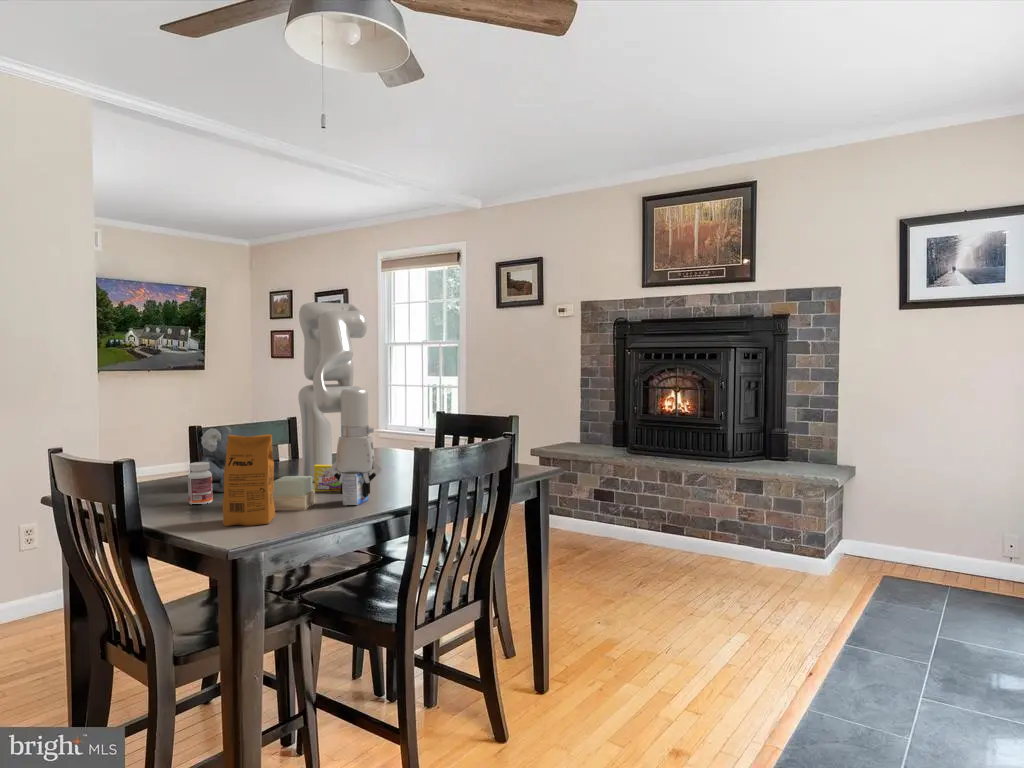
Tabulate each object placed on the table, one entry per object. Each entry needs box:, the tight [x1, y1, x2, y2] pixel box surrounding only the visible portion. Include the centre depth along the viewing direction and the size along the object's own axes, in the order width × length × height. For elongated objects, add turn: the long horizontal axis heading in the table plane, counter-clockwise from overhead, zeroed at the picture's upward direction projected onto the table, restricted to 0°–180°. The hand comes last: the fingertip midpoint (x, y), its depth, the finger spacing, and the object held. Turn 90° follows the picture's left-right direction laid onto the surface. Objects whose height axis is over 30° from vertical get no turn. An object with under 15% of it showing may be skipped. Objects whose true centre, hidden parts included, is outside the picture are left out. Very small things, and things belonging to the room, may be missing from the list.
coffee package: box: [222, 434, 276, 527], centre depth 172 cm, size 10×12×22 cm
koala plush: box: [200, 425, 233, 493], centre depth 216 cm, size 17×18×20 cm
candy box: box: [314, 464, 341, 491], centre depth 209 cm, size 16×2×8 cm, turn 86°
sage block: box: [273, 475, 313, 496], centre depth 189 cm, size 8×8×4 cm
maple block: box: [273, 489, 316, 511], centre depth 189 cm, size 9×9×4 cm
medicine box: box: [342, 473, 369, 506], centre depth 193 cm, size 8×4×9 cm, turn 169°
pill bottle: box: [187, 461, 214, 505], centre depth 194 cm, size 6×6×11 cm
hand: (355, 495), depth 193 cm, fingers closed on medicine box, 5 cm apart
